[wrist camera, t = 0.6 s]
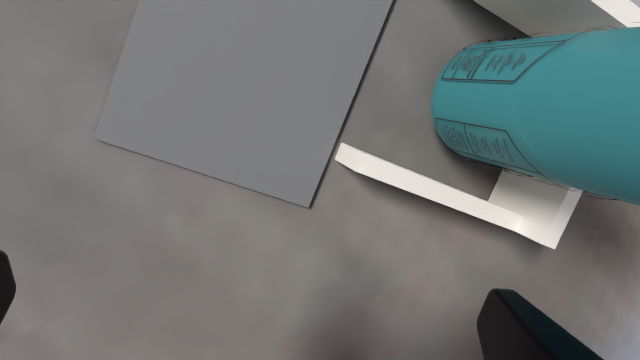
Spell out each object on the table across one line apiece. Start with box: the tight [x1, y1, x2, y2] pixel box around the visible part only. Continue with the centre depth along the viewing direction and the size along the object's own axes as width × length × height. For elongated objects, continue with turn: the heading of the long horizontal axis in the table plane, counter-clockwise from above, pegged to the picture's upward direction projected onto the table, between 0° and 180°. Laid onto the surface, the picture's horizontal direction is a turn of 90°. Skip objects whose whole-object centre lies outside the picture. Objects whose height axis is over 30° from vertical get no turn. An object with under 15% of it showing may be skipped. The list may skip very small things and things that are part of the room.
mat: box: [93, 0, 393, 208], centre depth 20 cm, size 18×11×1 cm, turn 157°
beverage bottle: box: [431, 22, 640, 205], centre depth 16 cm, size 6×7×20 cm
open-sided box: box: [335, 0, 640, 249], centre depth 22 cm, size 12×12×6 cm
